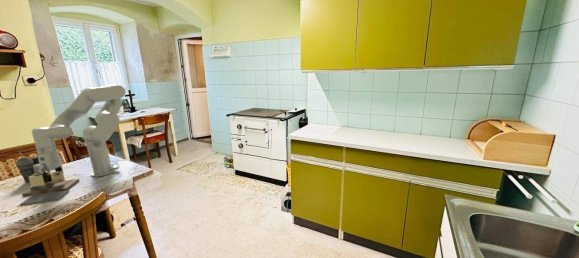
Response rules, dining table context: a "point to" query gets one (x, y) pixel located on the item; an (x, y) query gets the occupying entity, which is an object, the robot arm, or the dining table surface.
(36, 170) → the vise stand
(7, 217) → the dining table surface
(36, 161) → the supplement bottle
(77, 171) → the dining table surface
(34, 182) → the beige block
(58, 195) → the mat
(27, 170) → the beverage cup
